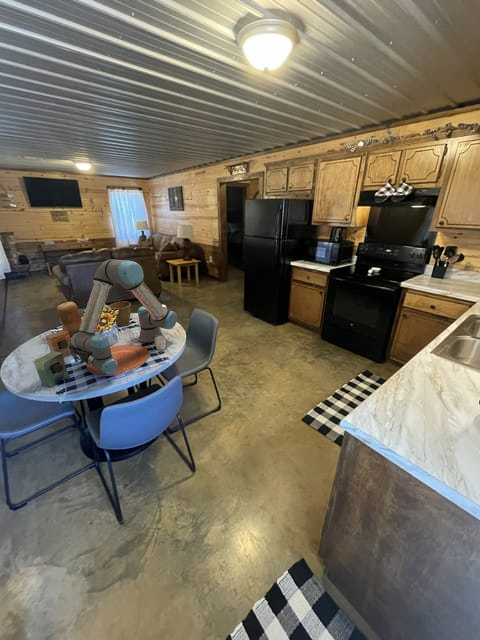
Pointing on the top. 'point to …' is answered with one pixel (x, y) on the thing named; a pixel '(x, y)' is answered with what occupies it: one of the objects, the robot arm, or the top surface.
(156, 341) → the shot glass
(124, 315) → the plant pot
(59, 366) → the front button
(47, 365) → the front housing
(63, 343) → the back button
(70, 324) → the butternut squash
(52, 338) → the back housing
